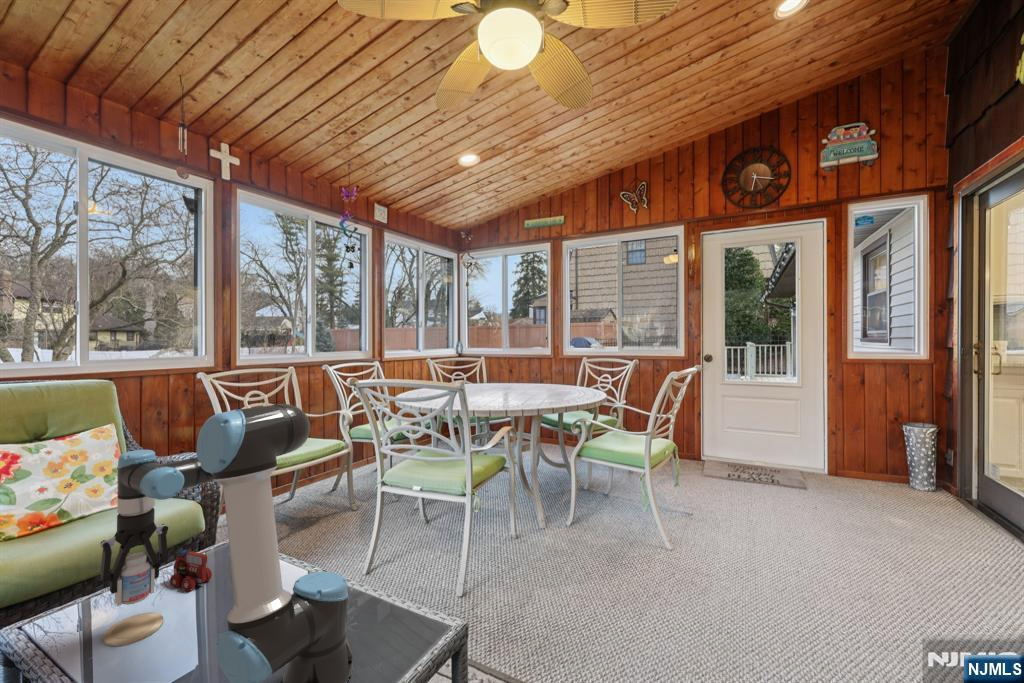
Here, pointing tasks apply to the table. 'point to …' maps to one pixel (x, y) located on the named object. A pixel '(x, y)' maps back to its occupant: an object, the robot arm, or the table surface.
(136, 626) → the plate
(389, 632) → the table surface
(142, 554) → the pill bottle
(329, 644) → the robot arm
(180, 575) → the toy fire truck
